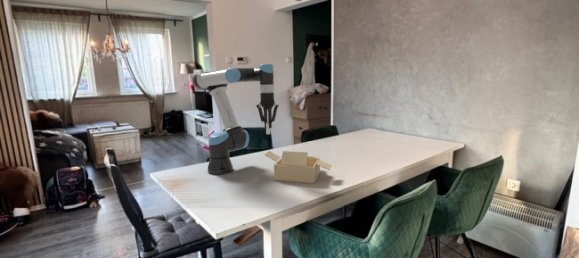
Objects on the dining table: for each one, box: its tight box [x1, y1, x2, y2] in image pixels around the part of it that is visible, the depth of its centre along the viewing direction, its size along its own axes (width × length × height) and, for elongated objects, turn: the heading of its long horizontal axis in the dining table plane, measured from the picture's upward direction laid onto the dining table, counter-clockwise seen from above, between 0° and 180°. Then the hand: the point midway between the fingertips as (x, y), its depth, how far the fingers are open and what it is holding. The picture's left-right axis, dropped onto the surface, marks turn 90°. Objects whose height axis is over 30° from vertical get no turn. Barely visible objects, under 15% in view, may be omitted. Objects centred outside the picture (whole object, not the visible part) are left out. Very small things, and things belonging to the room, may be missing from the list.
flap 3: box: [316, 159, 333, 171], centre depth 172 cm, size 8×8×1 cm
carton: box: [273, 157, 321, 185], centre depth 176 cm, size 22×18×9 cm
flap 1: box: [264, 150, 281, 162], centre depth 179 cm, size 8×8×1 cm
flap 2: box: [280, 150, 309, 166], centre depth 168 cm, size 14×8×1 cm
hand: (268, 133), depth 178 cm, fingers closed
